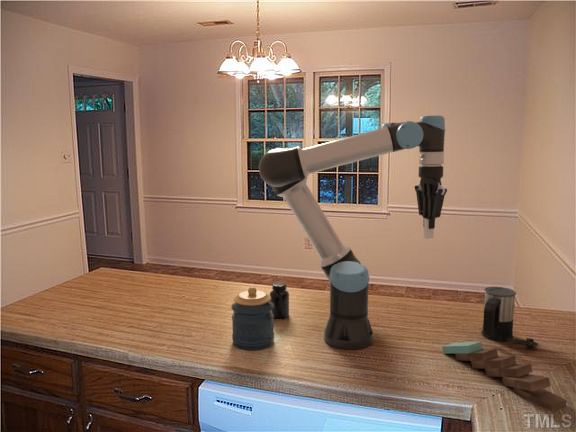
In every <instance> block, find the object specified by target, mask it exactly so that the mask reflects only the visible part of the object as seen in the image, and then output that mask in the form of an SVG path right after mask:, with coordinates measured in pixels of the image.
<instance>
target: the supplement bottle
mask: <svg viewBox="0 0 576 432" xmlns="http://www.w3.org/2000/svg"><path fill="white" fill-rule="evenodd" d="M271 289H272V290H271V291H270V292H269V295H270V296H271V300H270V301H271V302H273V304H274V307H273V309H272V312H273V314H274V318H273V319H274V320H276V319H282V320H286V319H288V318H289V316H290V293H289V291H288V290H287V283H286V282H284V281H276V282H273V283H272V287H271ZM287 317H288V318H287ZM285 318H286V319H285Z"/></svg>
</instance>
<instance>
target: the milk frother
mask: <svg viewBox="0 0 576 432" xmlns="http://www.w3.org/2000/svg"><path fill="white" fill-rule="evenodd" d="M484 291H485V295H484V306H483V307H484V309H483V324H482V330H481V332H480V333H481V334H482V335H481V336H483V337H484V338H486V339H488V340H492V341H494V342H495V341H497V342H512V343H517V344H523V345H526V347H527V348H532V349H533V348H534V346H535V347H536V346H537V347H538V346H539V343H538V342H535V340H534V338H530V337H529V338H526V339H518V338H517V339H516V338H514V335H513V334H514V333H513V331H514V329H513V328H514V327H513V326H514V314H515V302H516V295H517V291H516V290H514V289H511V288H507V287H503V286H487V287H485V288H484Z"/></svg>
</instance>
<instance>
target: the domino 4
mask: <svg viewBox="0 0 576 432" xmlns="http://www.w3.org/2000/svg"><path fill="white" fill-rule="evenodd" d="M484 370H485V374H486V376H487V377H497V378H501V377H521V376H524V375H526V374H530V373H534V371H533V368H532V364H531V363H517V364H514V365H512V366H509V367H506V368H484Z"/></svg>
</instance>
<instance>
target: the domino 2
mask: <svg viewBox="0 0 576 432" xmlns="http://www.w3.org/2000/svg"><path fill="white" fill-rule="evenodd" d="M454 354H455V358H456V359H455V360H456V361H470V362H471V361H486V360H489V359H491V358H494V357H497V356H499V354H498V349H497V348H483V349H482V350H478V351H475V352H472V353H454Z"/></svg>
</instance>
